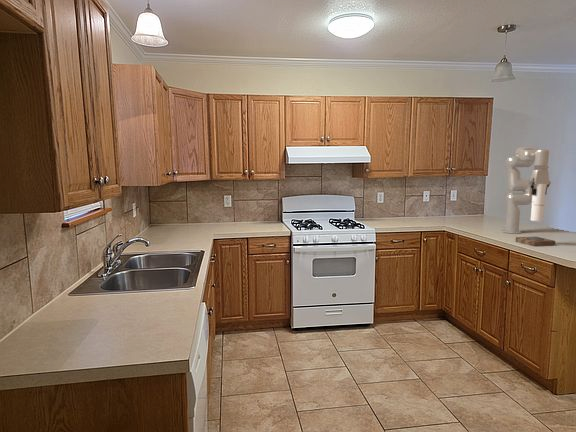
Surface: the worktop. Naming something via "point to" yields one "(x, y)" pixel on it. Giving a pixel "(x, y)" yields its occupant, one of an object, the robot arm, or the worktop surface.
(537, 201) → the cylindrical container
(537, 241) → the walnut base
